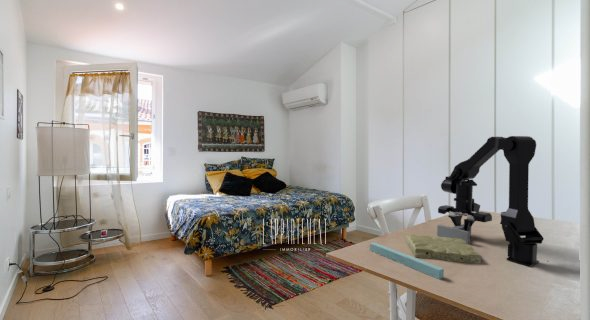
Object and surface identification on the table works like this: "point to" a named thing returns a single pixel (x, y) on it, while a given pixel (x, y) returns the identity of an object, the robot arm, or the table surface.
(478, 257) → the decorative tile
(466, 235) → the grey piece
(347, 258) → the table surface
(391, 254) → the bar
